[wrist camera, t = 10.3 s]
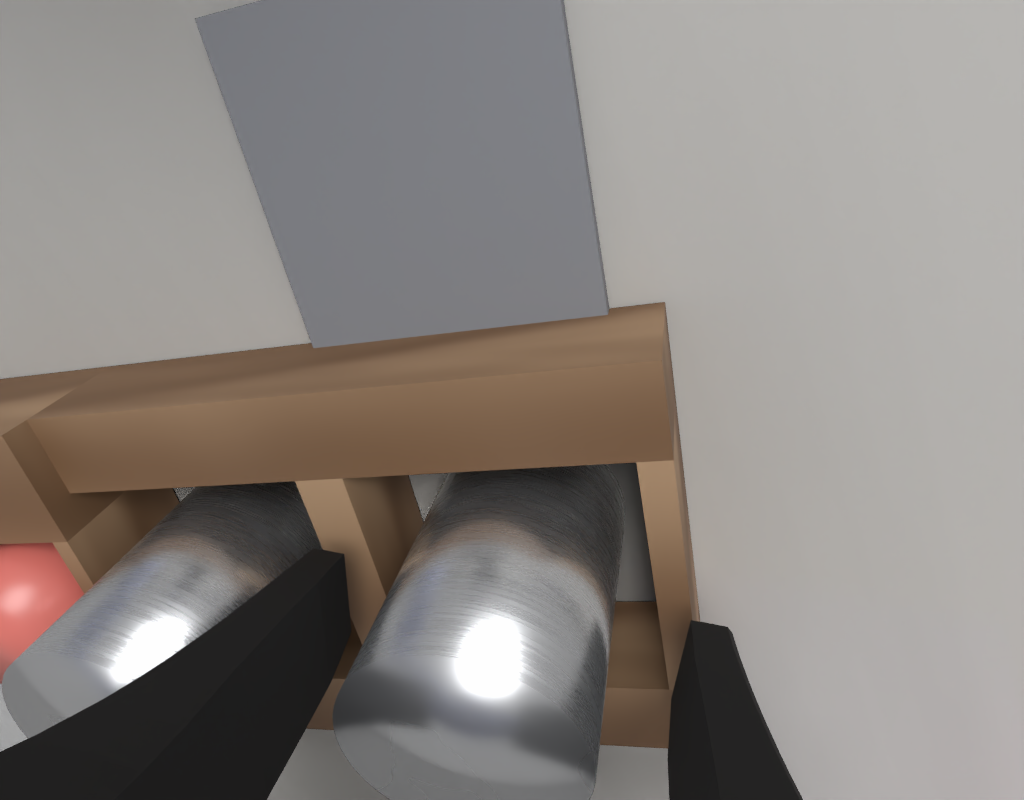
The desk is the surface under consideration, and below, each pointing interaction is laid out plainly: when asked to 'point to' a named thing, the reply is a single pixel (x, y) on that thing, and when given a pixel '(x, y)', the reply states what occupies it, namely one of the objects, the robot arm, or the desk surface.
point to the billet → (492, 643)
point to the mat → (415, 161)
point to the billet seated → (160, 598)
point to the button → (31, 595)
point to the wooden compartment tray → (369, 459)
